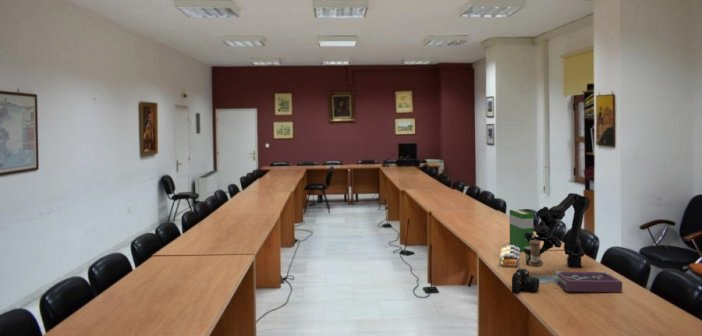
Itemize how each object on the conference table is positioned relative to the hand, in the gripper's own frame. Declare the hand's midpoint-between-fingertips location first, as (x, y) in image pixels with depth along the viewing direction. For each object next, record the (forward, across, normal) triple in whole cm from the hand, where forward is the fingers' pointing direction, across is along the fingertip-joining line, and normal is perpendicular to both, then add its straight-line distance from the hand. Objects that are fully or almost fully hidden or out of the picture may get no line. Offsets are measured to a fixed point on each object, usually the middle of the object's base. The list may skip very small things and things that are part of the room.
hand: (535, 253), depth 258 cm
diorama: (-2, -28, +22) cm, 35 cm away
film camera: (+23, +7, -3) cm, 24 cm away
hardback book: (-25, -43, +44) cm, 67 cm away
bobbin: (+4, 0, +5) cm, 6 cm away
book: (+5, +24, +14) cm, 28 cm away
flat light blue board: (+8, +6, +11) cm, 15 cm away
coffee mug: (-6, -17, +25) cm, 31 cm away
